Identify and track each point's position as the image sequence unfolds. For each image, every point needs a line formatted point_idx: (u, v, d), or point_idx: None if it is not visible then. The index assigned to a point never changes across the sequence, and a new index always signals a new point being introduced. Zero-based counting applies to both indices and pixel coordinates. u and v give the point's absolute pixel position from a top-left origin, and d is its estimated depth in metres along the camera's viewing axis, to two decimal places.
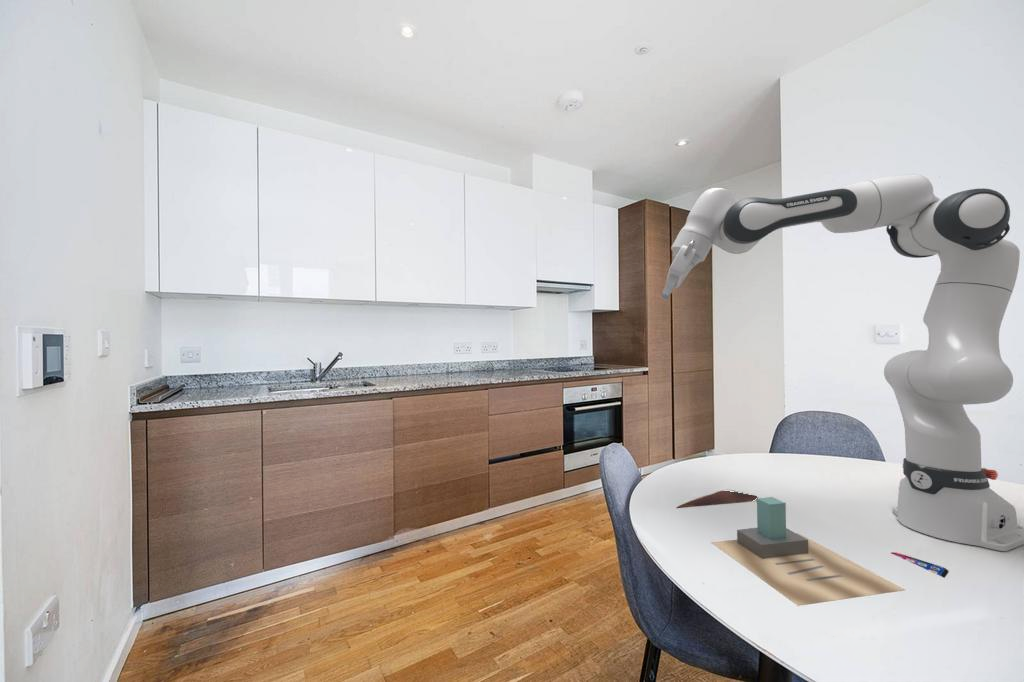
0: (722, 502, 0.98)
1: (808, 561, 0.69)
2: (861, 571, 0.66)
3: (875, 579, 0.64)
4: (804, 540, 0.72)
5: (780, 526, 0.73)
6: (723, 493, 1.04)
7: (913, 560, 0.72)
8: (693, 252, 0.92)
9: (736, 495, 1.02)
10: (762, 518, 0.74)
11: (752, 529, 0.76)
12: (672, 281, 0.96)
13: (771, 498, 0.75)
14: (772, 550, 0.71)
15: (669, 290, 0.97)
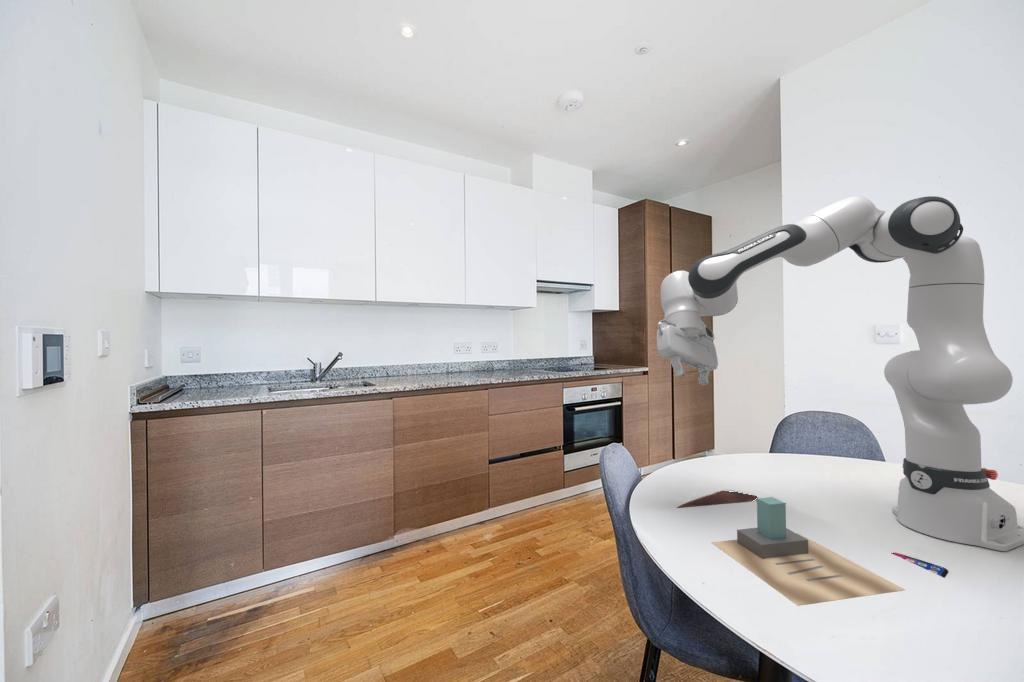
0: (722, 502, 0.97)
1: (808, 561, 0.69)
2: (861, 571, 0.66)
3: (875, 579, 0.64)
4: (804, 540, 0.72)
5: (780, 526, 0.73)
6: (723, 493, 1.04)
7: (913, 560, 0.72)
8: (667, 327, 0.92)
9: (736, 495, 1.02)
10: (762, 518, 0.74)
11: (752, 529, 0.76)
12: (674, 361, 0.92)
13: (771, 498, 0.75)
14: (772, 550, 0.71)
15: (679, 370, 0.91)
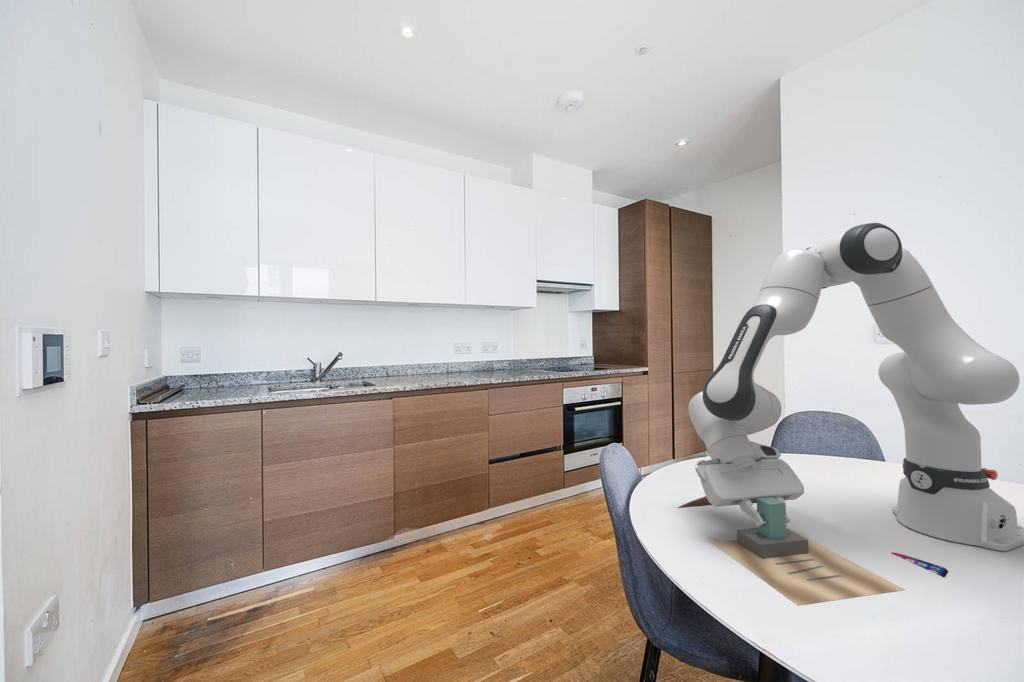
0: None
1: (808, 561, 0.69)
2: (861, 571, 0.66)
3: (875, 579, 0.64)
4: (804, 540, 0.72)
5: (780, 526, 0.73)
6: None
7: (913, 560, 0.72)
8: (706, 470, 0.79)
9: None
10: None
11: (752, 529, 0.76)
12: (745, 508, 0.75)
13: (771, 498, 0.75)
14: (772, 550, 0.71)
15: (757, 518, 0.74)
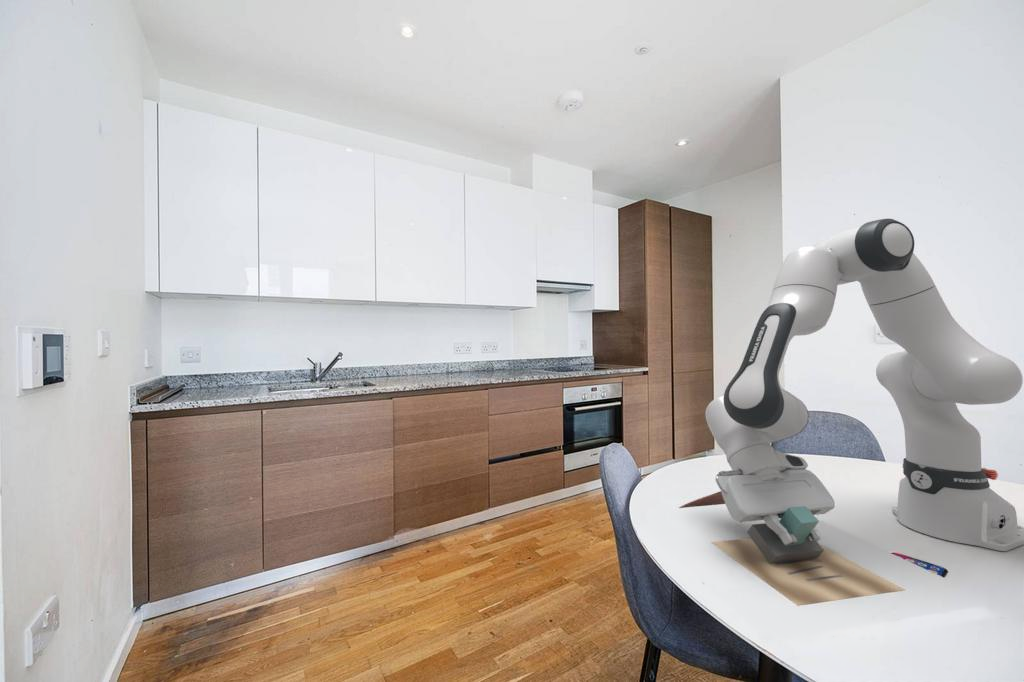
0: (723, 502, 0.97)
1: (808, 561, 0.69)
2: (861, 571, 0.66)
3: (875, 579, 0.64)
4: (819, 550, 0.69)
5: (801, 537, 0.69)
6: None
7: (913, 560, 0.72)
8: (728, 482, 0.73)
9: None
10: (785, 526, 0.69)
11: None
12: (772, 524, 0.69)
13: (804, 509, 0.69)
14: (783, 558, 0.68)
15: (785, 535, 0.67)
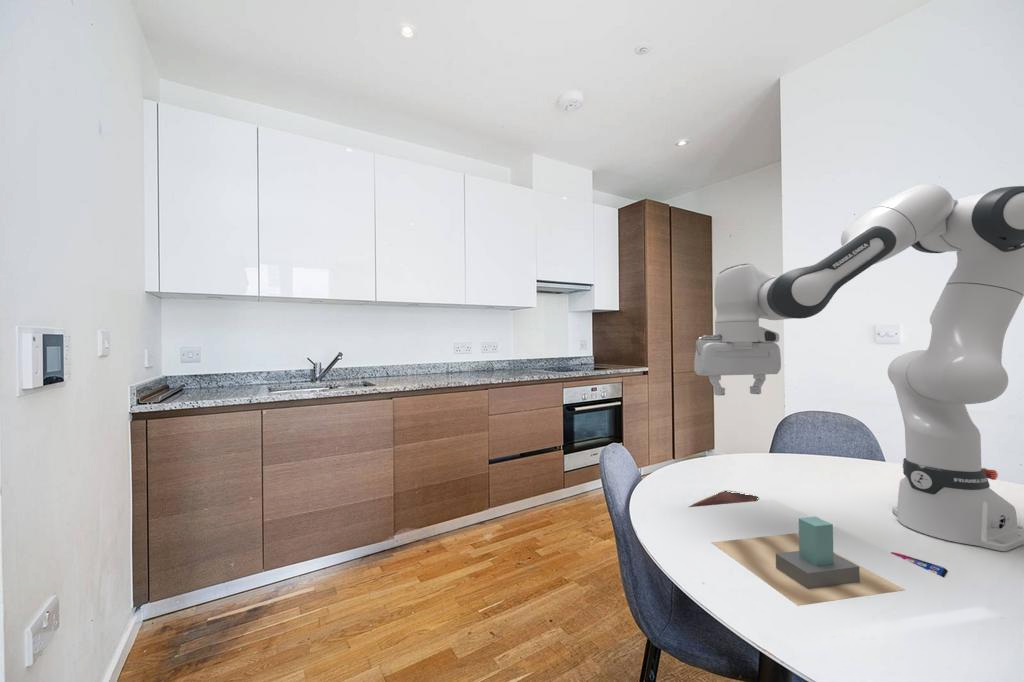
0: None
1: None
2: (861, 571, 0.66)
3: (875, 579, 0.64)
4: (855, 567, 0.63)
5: (826, 551, 0.64)
6: (724, 494, 1.03)
7: (912, 560, 0.72)
8: (705, 348, 0.86)
9: (737, 496, 1.02)
10: (805, 541, 0.65)
11: (793, 553, 0.67)
12: (713, 381, 0.88)
13: (815, 518, 0.67)
14: (819, 579, 0.62)
15: (718, 390, 0.88)
